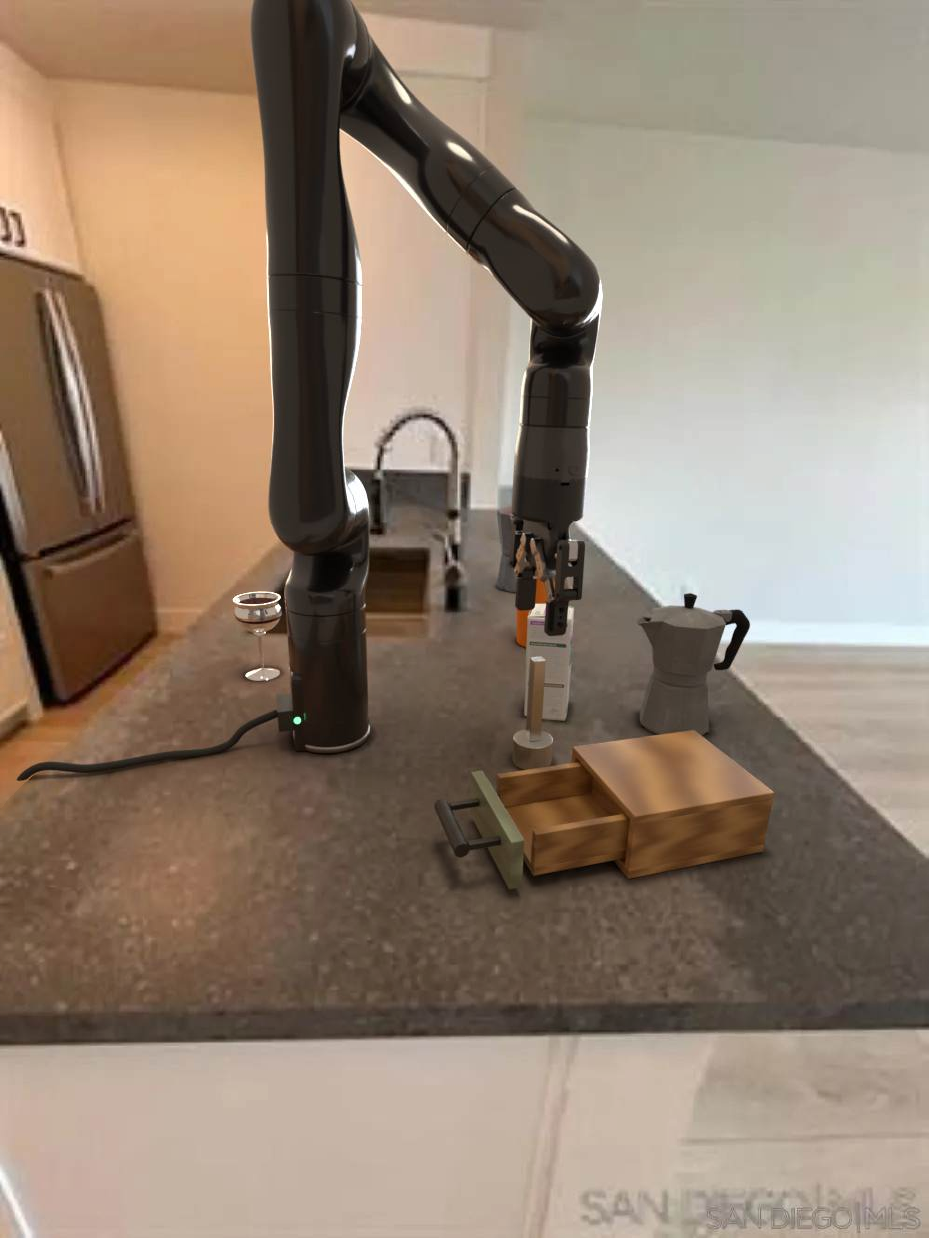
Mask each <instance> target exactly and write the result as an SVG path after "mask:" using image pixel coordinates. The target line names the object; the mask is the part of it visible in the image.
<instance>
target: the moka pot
mask: <svg viewBox="0 0 929 1238" xmlns="http://www.w3.org/2000/svg"><path fill="white" fill-rule="evenodd" d="M511 508H512V505H511V506H510V505H509V506H506V507H502V508H500V509H499V508H498V509H497V510H496V516H497V526H498V527H497V528H498V537H499V544H500V545H501V549H500V551H501V555H500V556H501V557H500V562H499V568H498V569H499V570H498V575H497V582H496V586H497V588H498V589H499V590H500V591H505V592H509V593H516V583H517V577H515V575H514V569H515V568H510V565H509V557H510V544H511V532H512V520H513V517H515V516H514V515H513V514H512V512H511Z"/></svg>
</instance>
